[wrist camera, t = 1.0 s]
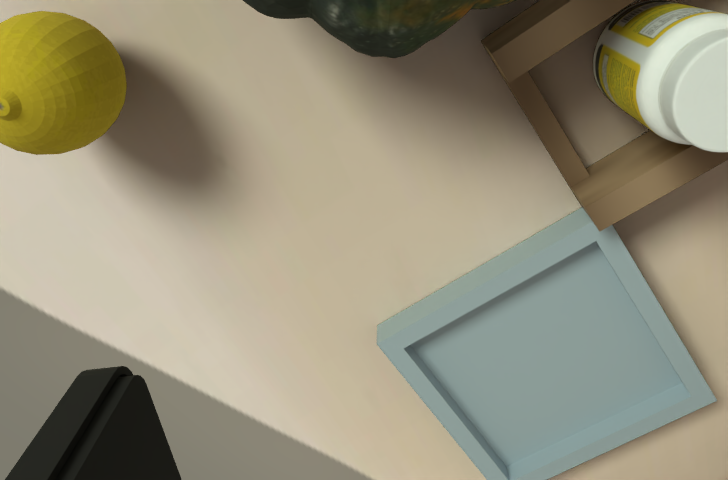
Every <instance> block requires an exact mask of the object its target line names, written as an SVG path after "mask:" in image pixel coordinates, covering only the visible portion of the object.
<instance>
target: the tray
mask: <svg viewBox="0 0 728 480" xmlns="http://www.w3.org/2000/svg"><path fill="white" fill-rule="evenodd" d="M377 345H378V346H379V347H380V349H381V350H382V351H383V352H384V354H385V355H386V356H387V357H388V359H389V360H390V361H391V362H392V363H393V365H394V366H395V367H396V368H397V370H398V371H399V372H400V373H401V375H402V376H403V377H404V378H405V379H406V381H407V382H408V383H409V384H410V386H411V387H412V388H413V389H414V391H415V392H416V393H417V394H418V395H419V397H420V398H421V399H422V400H423V402H424V403H425V404H426V405H427V407H428V408H429V409H430V410H431V411H432V413H433V414H434V415H435V416H436V418H437V419H438V420H439V421H440V422H441V424H442V425H443V426H444V427H445V429H446V430H447V431H448V432H449V434H450V435H451V436H452V437H453V438H454V440H455V441H456V442H457V443H458V445H459V446H460V447H461V448H462V450H463V451H464V452H465V453H466V454H467V456H468V457H469V458H470V459H471V461H472V462H473V463H474V464H475V466H476V467H477V468H478V469H479V470H480V472H481V473H482V474H483V475H484V477H485V478H486V479H487V480H547V479H549V478H551V477H554V476H556V475H558V474H560V473H562V472H564V471H566V470H569V469H571V468H573V467H575V466H577V465H579V464H582V463H584V462H586V461H588V460H590V459H592V458H595V457H597V456H599V455H601V454H603V453H605V452H607V451H610V450H612V449H614V448H616V447H618V446H620V445H623V444H625V443H627V442H629V441H631V440H633V439H635V438H638V437H640V436H642V435H644V434H646V433H648V432H651V431H653V430H655V429H657V428H659V427H661V426H663V425H666V424H668V423H670V422H672V421H674V420H676V419H679V418H681V417H683V416H685V415H687V414H689V413H692V412H694V411H696V410H698V409H700V408H702V407H704V406H707V405H709V404H711V403H713V402H715V401H717V400H716V398H715V396H714V395H713V393H712V391H711V390H710V388H709V386H708V384H707V383H706V381H705V379H704V378H703V376H702V374H701V373H700V371H699V369H698V368H697V366H696V364H695V363H694V361H693V359H692V358H691V356H690V354H689V353H688V351H687V349H686V348H685V346H684V344H683V343H682V341H681V339H680V338H679V336H678V334H677V333H676V331H675V329H674V327H673V326H672V324H671V322H670V321H669V319H668V317H667V316H666V314H665V312H664V311H663V309H662V307H661V306H660V304H659V302H658V301H657V299H656V297H655V296H654V294H653V292H652V291H651V289H650V287H649V286H648V284H647V282H646V281H645V279H644V277H643V275H642V274H641V272H640V270H639V269H638V267H637V265H636V264H635V262H634V260H633V259H632V257H631V255H630V254H629V252H628V250H627V249H626V247H625V245H624V244H623V242H622V240H621V239H620V237H619V235H618V234H617V232H616V230H615V229H614V227H613V225H611V226H609V227H607V228H605V229H604V230H602V231H599V230H598V229H597V227H596V226H595V224H594V223H593V221H592V220H591V219H590V217H589V216H588V214H587V213H586V212H585V210H584V209H583V207H582V208H580V209H578V210H576V211H575V212H573V213H571V214H569V215H568V216H566V217H564V218H563V219H561V220H559V221H557V222H556V223H554V224H552V225H550V226H549V227H547V228H545V229H544V230H542V231H540V232H538V233H537V234H535V235H533V236H531V237H530V238H528V239H526V240H524V241H523V242H521V243H519V244H518V245H516V246H514V247H512V248H511V249H509V250H507V251H505V252H504V253H502V254H500V255H498V256H497V257H495V258H493V259H492V260H490V261H488V262H486V263H485V264H483V265H481V266H479V267H478V268H476V269H474V270H473V271H471V272H469V273H467V274H466V275H464V276H462V277H460V278H459V279H457V280H455V281H453V282H452V283H450V284H448V285H447V286H445V287H443V288H441V289H440V290H438V291H436V292H434V293H433V294H431V295H429V296H427V297H426V298H424V299H422V300H421V301H419V302H417V303H415V304H414V305H412V306H410V307H408V308H407V309H405V310H403V311H402V312H400V313H398V314H396V315H395V316H393V317H391V318H389V319H388V320H386V321H384V322H382V323H381V324H379V325H377Z"/></svg>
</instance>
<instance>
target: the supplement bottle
mask: <svg viewBox="0 0 728 480" xmlns="http://www.w3.org/2000/svg"><path fill="white" fill-rule="evenodd" d="M593 71H594V76H595V80H596V82H597V84H598V86H599V88H600V90H601V91H602V92H603V94H604V95H605V96H606V97H607V98H608V99H609V100H610V101H612V102H613V103H614V104H616V105H617V106H618V107H620V108H621V109H623V110H624V111H625V112H627V113H628V114H629V115H631V116H632V117H634V118H635V119H636V120H638V121H639V122H641V123H642V124H643V125H645V126H646V127H647V128H649V129H650V130H651V131H653V132H654V133H655V134H657V135H659V136H660V137H662V138H664V139H667V140H669V141H672V142H675V143H680V144H687V145H694V146H696V147H698V148H700V149H703V150H706V151H711V152H728V14H724V13H720V12H715V11H711V10H707V9H702V8H697V7H693V6H688V5H683V4H679V3H674V2H670V1H663V0H651V1H645V2H641V3H638V4H635V5H633V6H631V7H629V8H627V9H625V10H623V11H622V12H620V13H619V14H618V15H617V16H616V17H614V18H613V19H612V20H611V21H610V23H609V24H608V25H607V26H606V28H605V29H604V30H603V32H602V34H601V36H600V38H599V40H598V43H597V45H596V48H595V52H594V58H593Z"/></svg>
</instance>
